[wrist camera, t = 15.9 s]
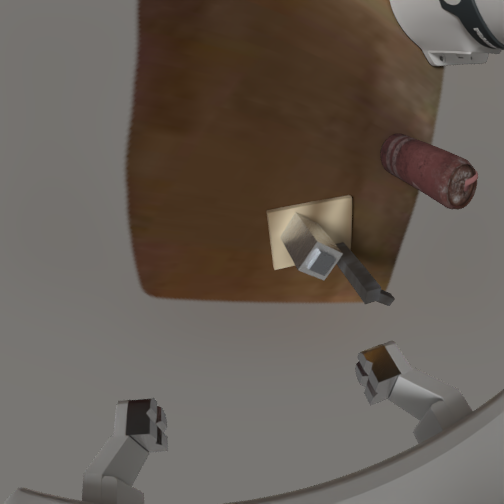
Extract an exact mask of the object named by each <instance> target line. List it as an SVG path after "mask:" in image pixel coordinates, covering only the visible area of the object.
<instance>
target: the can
mask: <svg viewBox="0 0 504 504" xmlns="http://www.w3.org/2000/svg"><path fill="white" fill-rule="evenodd" d="M381 161H382V165H383V167H384V168H385V170H386V171H388V172H389V173H391V174H392V175H394V176H396V177H398V178H399V179H401V180H403V181H405V182H406V183H408V184H410V185H411V186H413V187H415V188H416V189H418V190H420V191H421V192H423V193H425V194H426V195H428V196H430V197H431V198H433V199H434V200H436V201H437V202H439V203H440V204H442V205H444V206H445V207H447V208H449V209H462V208H464V207H465V206H467V204H468V203H469V202H470V201H471V199H472V197H473V196H474V193H475V190H476V186H477V179H478V173H477V172H476V171H475V169H474V168H473V166H472V165H471V164H470V163H469V161H468V160H466V159H464V158H461V157H459V156H457V155H454V154H452V153H450V152H447V151H445V150H443V149H440V148H438V147H435V146H433V145H430V144H428V143H425V142H422V141H420V140H417V139H414V138H411V137H409V136H406V135H403V134H394V135H392V136H390V137H389V138H388V139H387V140H386V141H385V142H384V144H383V145H382V148H381Z"/></svg>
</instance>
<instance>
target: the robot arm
mask: <svg viewBox="0 0 504 504" xmlns="http://www.w3.org/2000/svg"><path fill="white" fill-rule="evenodd" d="M390 3H391V7H392V10H393V12H394V15H395V17H396V19H397V21H398V23H399V24H400V26H401V27H402V29H403V30H404V32H405V33H406V34H407V35H408V36H409V38H410V39H411V40H412V41H414V42H415V43H416V44H417V45H418V46H419V47H420V48H421V49H422V51H423V53H424V55H425V56H426V58H427V60H428V62H429V63H430V64H431V65H432V66H445V65H458V64H480V63H486V62H487V58H488V54H489V53H494V54H499V53H500V52H501V50H504V0H390ZM358 360H359V362H358V363H357V364H356V368H355V370H356V376H357V379H358V381H359V383H360V385H362V386H364V387H366V388H365V392H364V394H365V395H366V398H367V399H368V402H369V404H370V405H372V404H375V403H378V402H381V401H383V400H386V399H388V398H389V400H390V401H391V402H393V403H394V404H396V405H397V406H399V407H400V408H402V409H403V410H405V411H406V412H408V413H410V414H411V415H412V416H414V417H415V418H417V419H418V420H420V422H419V423H418V425H417V426H416V427H415V429H414V431H413V433H414V435H415V437H416V439H417V441H418V443H419V444H418V445H416V446H414V447H412V448H410V449H408V450H406V451H404V452H402V453H399V454H397V455H395V456H393V457H391V458H388V459H386V460H384V461H382V462H379V463H377V464H374V465H372V466H370V467H367V468H365V469H362V470H359V471H357V472H354V473H351V474H349V475H346V476H343V477H340V478H337V479H334V480H331V481H328V482H324V483H321V484H318V485H314V486H311V487H307V488H303V489H299V490H296V491H291V492H287V493H283V494H278V495H273V496H269V497H264V498H258V499H252V500H247V501H239V502H232V503H224V504H504V389H503V390H502V391H500V392H499V393H498V394H497V395H495V396H494V397H493V398H491V399H490V400H489V401H487V402H486V403H485V404H483V405H482V406H480V407H479V408H477V409H476V410H475V411H472V409H471V408H470V406H469V405H468V403H467V401H466V400H465V398H464V397H463V395H462V394H461V392H460V390H459V389H458V388H456V387H453V386H451V385H449V384H447V383H445V382H443V381H441V380H439V379H437V378H435V377H433V376H431V375H428V374H427V373H424V372H423V371H420V370H419V369H417V368H414V369H412V367H411V366H410V364H409V363H408V361H407V360H406V358H405V357H404V355H403V353H402V352H401V350H400V349H399V347H398V346H397V345H396V343H395V342H394V341H389V342H387V343H384V344H381V345H378V346H375V347H373V348H370V349H367V350H364V351H362V352H360V353H359V354H358ZM166 428H167V420H166V415H165V413H164V411H163V409H162V408H161V407H159V406H157V401H156V400H155V399H154V398H148V399H138V400H124V401H118V403H117V406H116V416H115V427H114V436H110V438H109V439H108V440H107V442H106V443H105V445H104V446H103V447H102V449H101V450H100V451H99V453H98V454H97V455H96V457H95V458H94V460H93V461H92V462H91V464H90V465H89V466H88V468H87V469H86V471H85V472H84V473H83V489H82V501H80V500H75V499H69V498H64V497H59V496H54V495H50V494H45V493H42V492H38V491H34V490H30V489H27V488H22V487H21V488H17V489H16V490H15V491H14V492H13V493H12V494H11V495H10V496H9V497H8V499H7V500H6V501H5V502H4V503H3V504H144V494H143V493H142V492H141V491H140V490H137V489H136V488H134V487H132V485H133V483H134V481H135V479H136V478H137V476H138V474H139V472H140V470H141V468H142V466H143V464H144V462H145V461H146V459H147V457H148V455H149V452H161V451H168V441H167V436H166V435H165V434H164V431H165V430H166Z"/></svg>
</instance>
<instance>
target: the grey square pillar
mask: <svg viewBox="0 0 504 504" xmlns="http://www.w3.org/2000/svg"><path fill="white" fill-rule="evenodd" d="M280 238H281V240H282V242H283V243H284V245H285V247H286V249H287V251H288V253H289V254H290V256H291V258H292V260H293V262H294V264H295V266H296V267H297V269H298V270H299V271H301V272H304V273H307V274H309V275H312V276H314V277H317V278H319V279H322V280H325V278H326V277H327V276H328V274H329V273H330V272H331V270H332V269H333V267H334V266H335V265H336V263H337V262H338V260H339V259H340V258H341V256H342V255H343V253H342V252H341V250H340V249H339V248H338V247H337V245H336V244H335V243H334V242H333V241H332V239H331V238H330V237H329V236H328V234H327V233H326V232H325V231H324V230H323V228H322V227H321V226H320V225H319V224H318V223H316V222H314V221H312V220H310V219H308V218H306V217H304V216H302V215H300V214H298V213H296V212H295V214H294V215H293V217H292V218H291V220H290V222H289V223H288V225H287V226H286V228H285V230H284V231H283V233H282V234H281V236H280Z"/></svg>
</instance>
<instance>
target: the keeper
mask: <svg viewBox="0 0 504 504" xmlns="http://www.w3.org/2000/svg"><path fill="white" fill-rule="evenodd" d="M295 212H296V213H298V214H300V215H302V216H304V217H306V218H308V219H310V220H312V221H314V222H316V223H318V224H319V225H320V226H321V227H322V228H323V230H324V231H325V232H326V233H327V234H328V236H329V237H330V238H331V239H332V241H333V242H334V243H335V244H336V245H337V247H338V248H339V249H340V250H341V252H342V253H343V255H342V256H341V258H340V259H339V260H338V262H337V263H336V264H337V265H338V266H339V268H340V269H341V271H342V272H343V273H344V275H345V276H346V278H347V279H348V280H349V282H350V283H351V285H352V286H353V287H354V289H355V290H356V292H357V293H358V294H359V296H360V297H361V299H362V300H363V302H364V303H365V304H368V303H371V302H374V301H377V302H379V303H383V304H385V305H388V306H390V305H391V303H392V302H393V301H394V297H393V296H392V295H391V294H390V293H388V292H386V291H383V290H381V287H380V285H379V284H378V283H377V282H376V280H375V279H374V278H373V277H372V276H371V274H370V273H369V272H368V271H367V269H366V268H365V267H364V266H363V265H362V263H361V262H360V261H359V260H358V259H357V257H356V256H355V255H354V254H353V253H352V251H351V231H352V197H351V196H350V195H348V196H342V197H336V198H330V199H325V200H319V201H314V202H308V203H303V204H298V205H292V206H287V207H282V208H277V209H272V210H267V219H268V227H269V235H270V243H271V251H272V259H273V267H274V269H275V270H276V269H281V268H285V267H290V266H294V265H295V264H294V262H293V260H292V258H291V256H290V254H289V253H288V251H287V249H286V247H285V245H284V243H283V242H282V240H281V238H280V236H281V234H282V233H283V231H284V230H285V228H286V226H287V225H288V223H289V222H290V220H291V218H292V217H293V215H294V214H295Z"/></svg>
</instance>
